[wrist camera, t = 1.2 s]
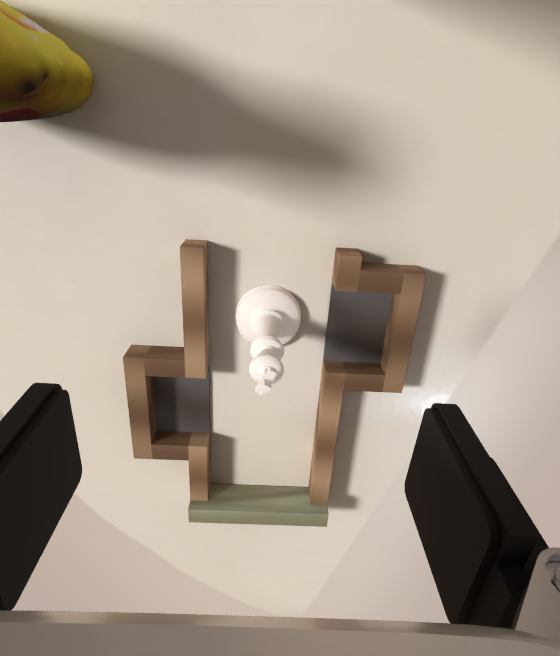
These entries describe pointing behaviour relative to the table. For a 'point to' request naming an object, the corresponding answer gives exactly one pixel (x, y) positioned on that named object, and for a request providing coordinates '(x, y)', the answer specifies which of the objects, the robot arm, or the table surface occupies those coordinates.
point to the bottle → (37, 71)
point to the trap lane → (337, 375)
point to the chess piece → (267, 330)
